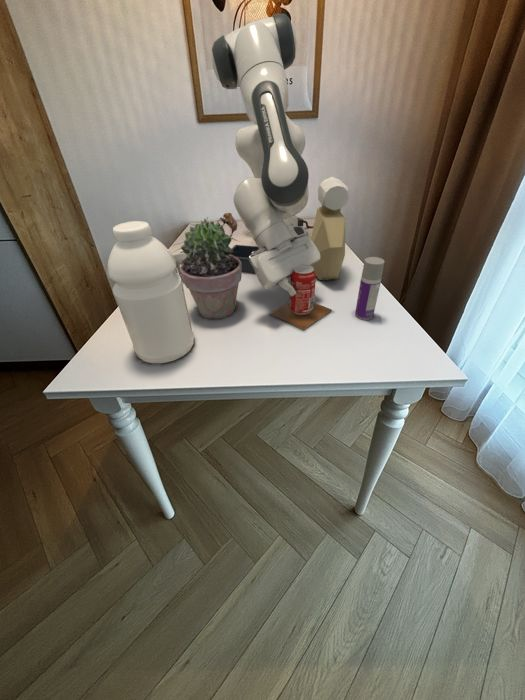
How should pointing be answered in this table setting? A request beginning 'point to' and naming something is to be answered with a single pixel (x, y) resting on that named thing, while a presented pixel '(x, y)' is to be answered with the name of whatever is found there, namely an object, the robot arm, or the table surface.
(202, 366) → the table surface
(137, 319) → the bottle
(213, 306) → the potted plant
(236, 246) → the bin
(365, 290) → the container
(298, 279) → the beverage can
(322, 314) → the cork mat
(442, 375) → the table surface
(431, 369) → the table surface
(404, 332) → the table surface
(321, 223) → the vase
